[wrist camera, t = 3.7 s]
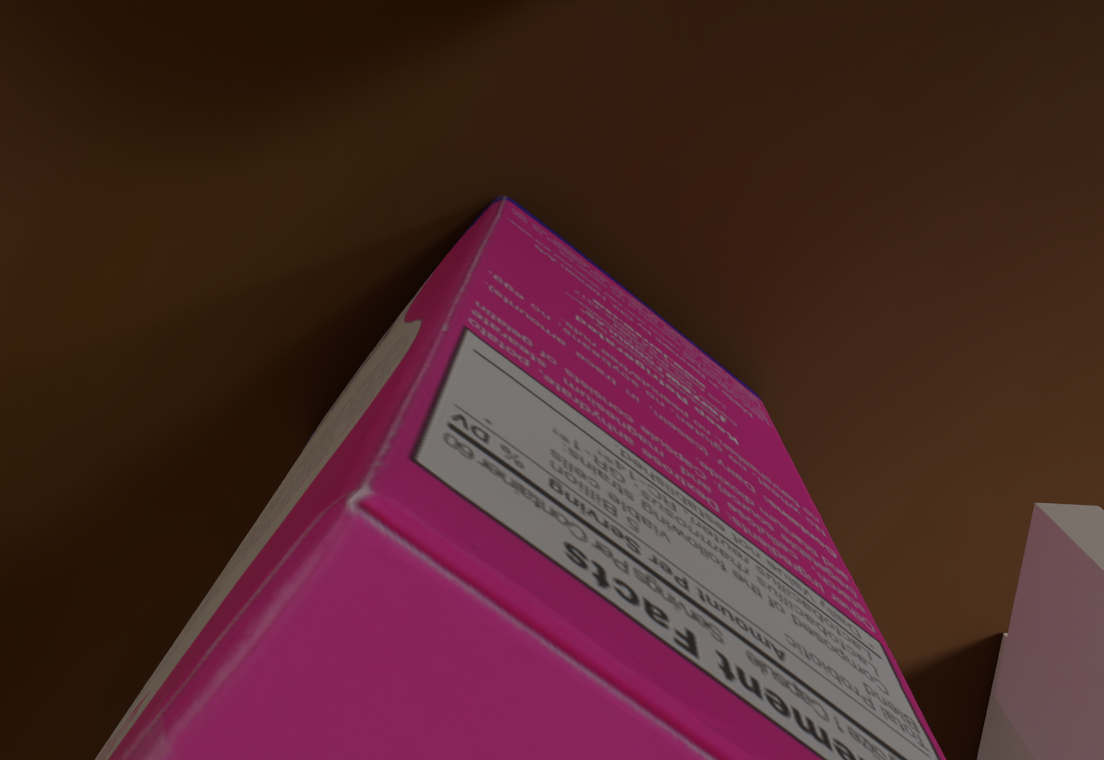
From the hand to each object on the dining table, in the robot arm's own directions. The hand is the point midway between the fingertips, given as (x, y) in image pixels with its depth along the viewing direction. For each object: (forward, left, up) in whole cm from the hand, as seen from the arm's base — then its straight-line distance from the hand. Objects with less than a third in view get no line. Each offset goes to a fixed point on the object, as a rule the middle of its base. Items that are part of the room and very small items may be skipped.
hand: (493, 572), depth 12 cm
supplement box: (0, 0, -5) cm, 5 cm away
